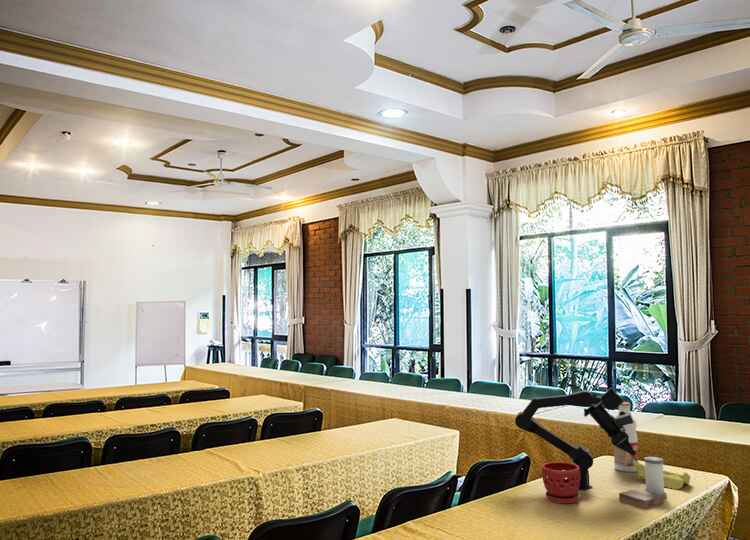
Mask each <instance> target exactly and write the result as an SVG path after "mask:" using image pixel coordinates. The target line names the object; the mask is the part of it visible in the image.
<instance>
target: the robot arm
mask: <svg viewBox="0 0 750 540" xmlns="http://www.w3.org/2000/svg"><path fill="white" fill-rule="evenodd" d="M624 402H626V401H625V400H624V399H623V398H622V397H621V395H619V394H618V393H617V392H616V391H615V390H614V389H613V388H612V387H610V388H609V389H608V390H606V391H605V393H603V394H602V395H599V394H597V395H596V394H593V393H592V392H590V391H589V390H586V389H581V390H578V391H574V392H572V393H568V394H563V395H553V396H543V397H533V398H532V399H531V400H530V402H529V403H528V405H527V406H526V407H525V409H523V411H520V412H518V413H517V414H516V417H515V421H514V422H515V426H516V427H517V428H518V429H521V430H523V431H525V432H528V433H531V434H535V435H537V436H538V437H539V438H541V439H543V440H544V441H546V442H547V443H548V444H550V445H552V446H554V447H555V448H557V449H559V450H560V451H562V452H563V453H564V454H566V455H568V457H569V458H570V459H571V462H570V463H573V464H576V465H578V466H579V467H580V486H579V491H580V490H581V491H583V490H587V489H591V488H593V485H590V473H589V471H590V470H589V469H590V468H592V467H593V465H594V458H593V455H592V452H590V449H589V448H587V447H584V446H583V445H582V444H580V443H578V444H577V445H574V444H573V443H570V442H569V441H567V440H565V439H564V438H562V437H560V436H558V435H557V434H556V433H555V432H552V431H551V430H550V429H548V428H546V427H544V426H543V425H541V424H540V423H539V422H538V421H537V420H536V419H535V418H534V416H535V414H536V413H537V411H538V410H539V409H544V408H553V407H564V406H565V407H566V406H572V407H573V406H574V407H578V408H579V407H580V408H583V417H588V416H589V415H590V417H592V419H593V421H595V422H596V423H597V424H598V426H599V428H601V430H603V431H604V433H606V435H607V436H608V438H610V439H609V440H610V443H611V444H613V447H614V446H616V447H618V448H620V449H622V450H624V451H626V452H628V453H630V454H631V455H633V456H634V455H636V453H635V451H634V450H633V447H632V446H631V444H630V442H629V441H628V439H629V436H628V434H627V433H626V432H625V428H624V427H623V426H624V425H627V424H632V423H634V422H633V420H632V417H633V416H632V417H631V415H632V414H631V415H630V413H627V414H626V413H625V412H624V411H622V412H620V413H619V416H618V417H616V416H615V417H614V415H611V413H609V411H615V410H616V409H617V408H619V406H620V405H621V404H622V403H624ZM594 404H595V405H594ZM606 409H607V410H608V411H607V410H606ZM621 428H624V429H622V430H621Z"/></svg>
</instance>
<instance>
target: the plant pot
mask: <svg viewBox="0 0 750 540" xmlns="http://www.w3.org/2000/svg"><path fill="white" fill-rule="evenodd" d="M541 476H542V483H543V485H544V488H545V490H546V492H545V497H546V498H547V499H548V500H550V501H551V502H554V503H557V504H558V503H559V504H560V505H561V504H574V503H576V502H578V501H579V499H580V498H581V496H580V493H578V492H579V491H580V489H579V486H580V467H579V466H578V465H576V464H573V463H571V462H565V461H551V462H546V463H543V464H542V465H541Z"/></svg>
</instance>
